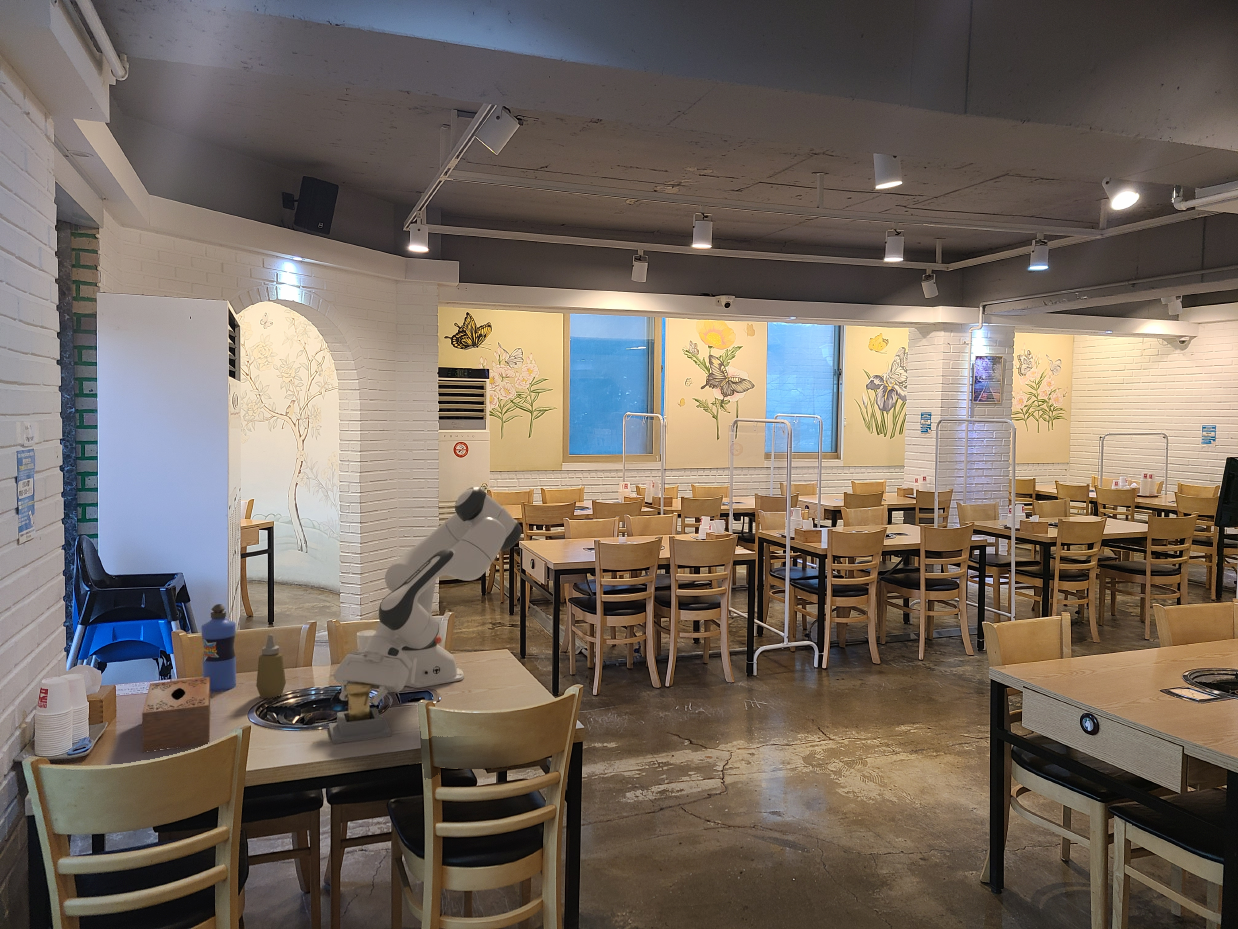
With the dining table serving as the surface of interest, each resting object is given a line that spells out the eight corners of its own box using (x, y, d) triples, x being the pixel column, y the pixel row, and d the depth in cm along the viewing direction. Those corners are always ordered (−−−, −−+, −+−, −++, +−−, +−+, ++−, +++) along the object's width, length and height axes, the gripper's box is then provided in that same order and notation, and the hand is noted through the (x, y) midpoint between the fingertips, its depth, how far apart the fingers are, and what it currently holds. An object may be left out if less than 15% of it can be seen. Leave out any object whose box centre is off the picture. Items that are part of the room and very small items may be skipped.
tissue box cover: (150, 720, 228) (150, 683, 227) (210, 712, 234) (209, 677, 233) (142, 754, 204) (142, 713, 204) (209, 744, 210) (208, 705, 210)
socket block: (383, 721, 227) (383, 705, 227) (390, 736, 216) (390, 719, 216) (328, 728, 222) (328, 712, 221) (333, 744, 211) (333, 727, 210)
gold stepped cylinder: (370, 722, 223) (370, 680, 223) (373, 729, 217) (373, 687, 217) (344, 725, 220) (344, 683, 220) (347, 733, 215) (347, 690, 214)
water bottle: (220, 680, 262) (219, 600, 260) (243, 684, 258) (242, 603, 257) (195, 689, 253) (193, 606, 252) (218, 693, 249) (217, 609, 248)
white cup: (359, 659, 286) (359, 630, 286) (383, 659, 287) (383, 629, 287) (354, 666, 278) (354, 635, 278) (379, 665, 279) (378, 635, 279)
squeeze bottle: (275, 701, 243) (274, 639, 242) (250, 699, 244) (249, 637, 243) (291, 692, 251) (291, 632, 250) (267, 690, 252) (266, 631, 251)
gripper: (343, 644, 228) (318, 690, 220) (407, 652, 221) (384, 700, 212) (354, 656, 233) (330, 702, 224) (417, 664, 225) (395, 712, 217)
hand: (357, 701), depth 218 cm, fingers open, 8 cm apart
